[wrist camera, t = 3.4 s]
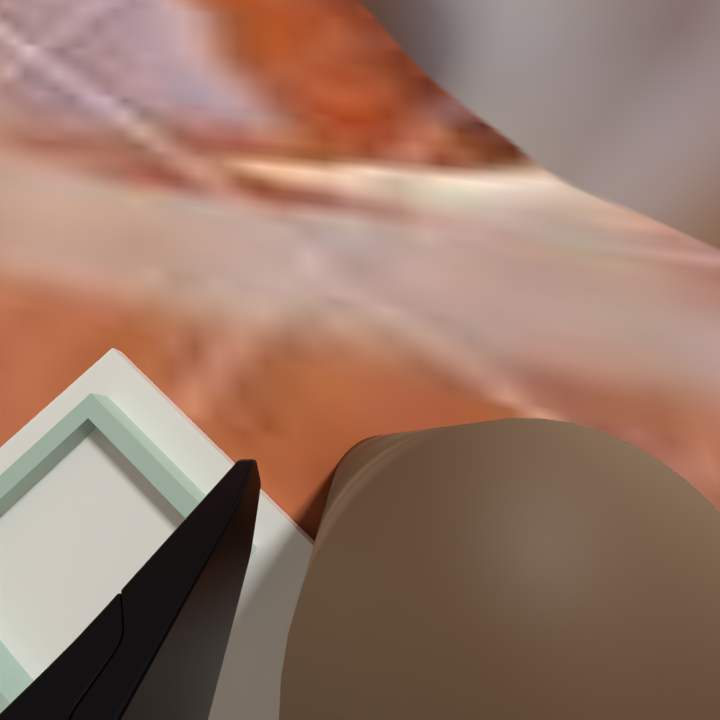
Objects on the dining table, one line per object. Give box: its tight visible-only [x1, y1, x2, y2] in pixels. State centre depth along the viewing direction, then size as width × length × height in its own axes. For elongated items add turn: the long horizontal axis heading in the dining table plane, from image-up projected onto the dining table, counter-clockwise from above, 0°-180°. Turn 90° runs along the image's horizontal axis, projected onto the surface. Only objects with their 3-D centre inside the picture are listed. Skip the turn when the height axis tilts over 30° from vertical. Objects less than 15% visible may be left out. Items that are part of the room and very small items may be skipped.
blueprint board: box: [0, 348, 315, 720], centre depth 12 cm, size 14×22×2 cm, turn 48°
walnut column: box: [279, 418, 720, 720], centre depth 9 cm, size 5×5×12 cm
